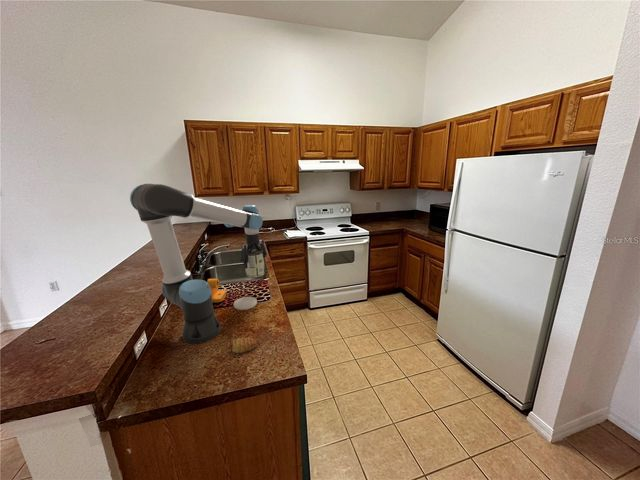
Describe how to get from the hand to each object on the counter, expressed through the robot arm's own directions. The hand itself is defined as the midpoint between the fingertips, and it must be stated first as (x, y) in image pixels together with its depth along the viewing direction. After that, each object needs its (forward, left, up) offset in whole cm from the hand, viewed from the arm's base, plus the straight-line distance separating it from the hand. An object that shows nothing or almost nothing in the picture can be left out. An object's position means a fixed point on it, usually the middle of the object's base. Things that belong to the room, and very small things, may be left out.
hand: (255, 270), depth 150 cm
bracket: (-20, +10, -13) cm, 25 cm away
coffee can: (0, 0, -3) cm, 3 cm away
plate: (-15, -8, -12) cm, 21 cm away
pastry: (-37, -36, -13) cm, 53 cm away
